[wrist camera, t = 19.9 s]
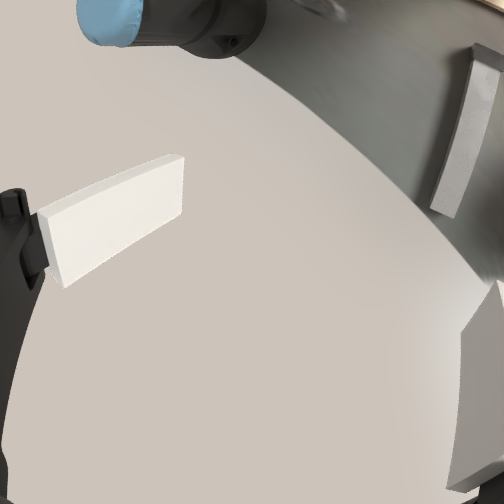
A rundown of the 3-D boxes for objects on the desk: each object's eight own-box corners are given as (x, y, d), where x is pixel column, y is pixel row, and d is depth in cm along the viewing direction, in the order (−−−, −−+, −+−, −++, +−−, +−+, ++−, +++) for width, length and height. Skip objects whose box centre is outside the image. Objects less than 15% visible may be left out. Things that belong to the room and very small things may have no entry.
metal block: (453, 211, 37) (455, 221, 34) (427, 199, 38) (428, 208, 35) (499, 59, 24) (506, 56, 22) (471, 46, 26) (475, 42, 23)
